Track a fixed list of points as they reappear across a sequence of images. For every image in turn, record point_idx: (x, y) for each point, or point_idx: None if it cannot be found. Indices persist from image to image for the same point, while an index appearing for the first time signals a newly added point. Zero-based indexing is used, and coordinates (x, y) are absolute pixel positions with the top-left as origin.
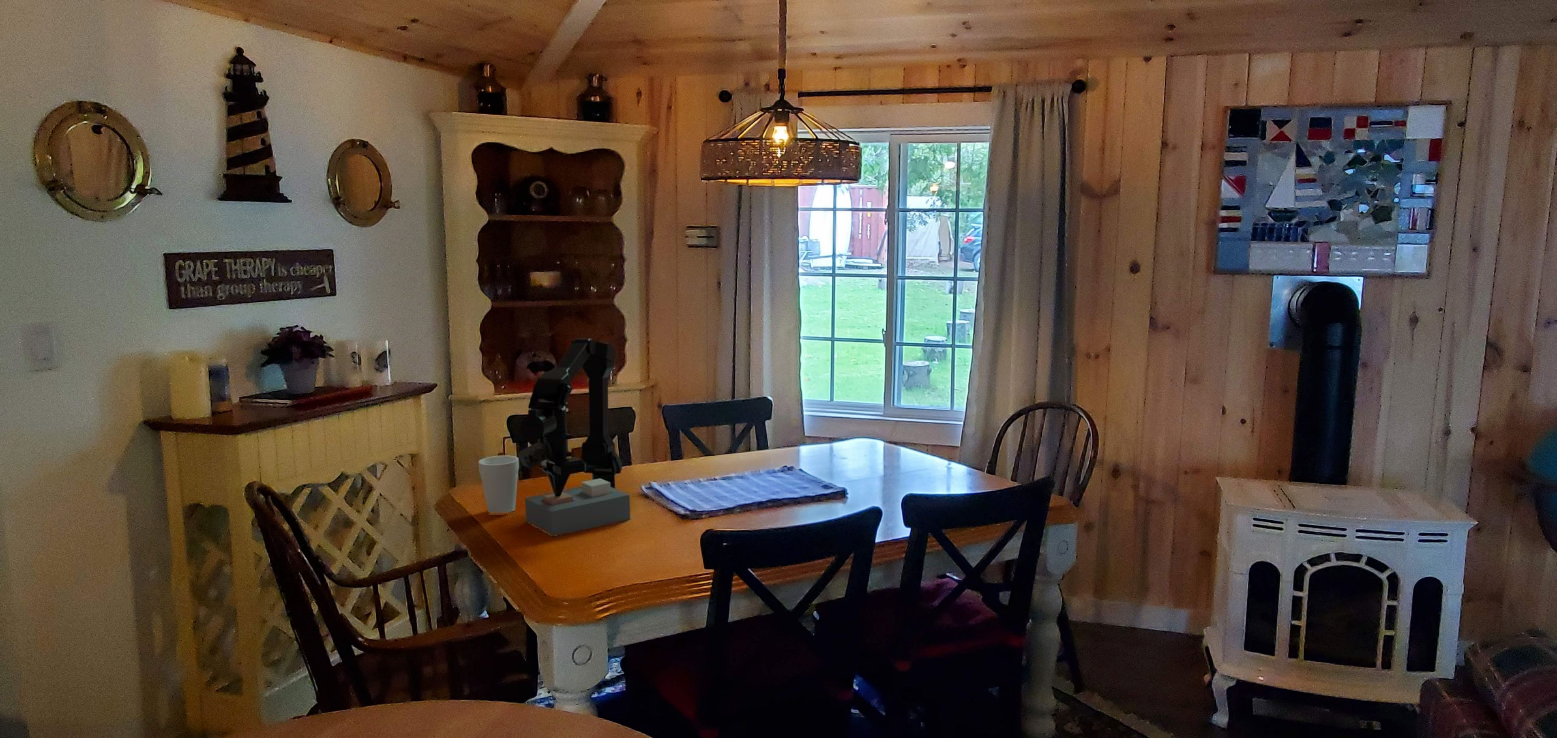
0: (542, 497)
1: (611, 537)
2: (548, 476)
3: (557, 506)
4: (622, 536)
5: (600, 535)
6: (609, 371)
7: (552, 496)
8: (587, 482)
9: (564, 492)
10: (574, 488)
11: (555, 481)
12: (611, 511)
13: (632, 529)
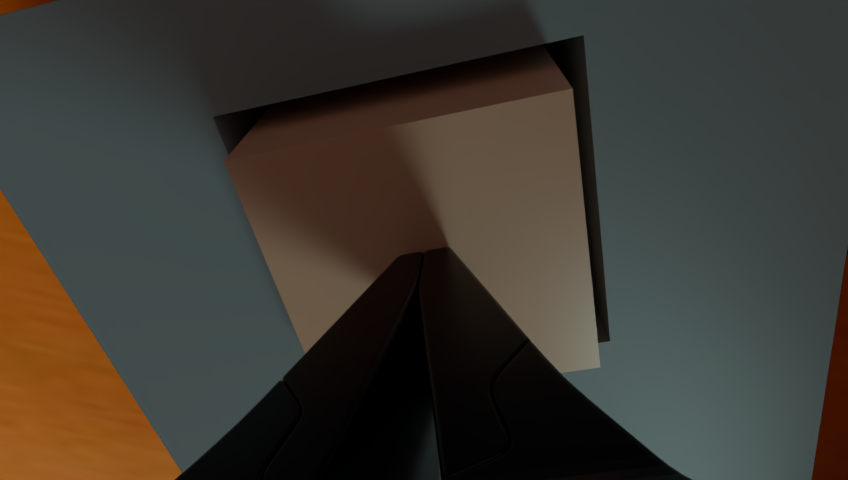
0: (704, 90)
1: (18, 357)
2: (567, 427)
3: (150, 172)
4: (27, 407)
5: (74, 316)
6: None
7: (443, 208)
8: None
9: (726, 373)
10: (794, 476)
11: (234, 439)
12: None
13: (150, 474)
